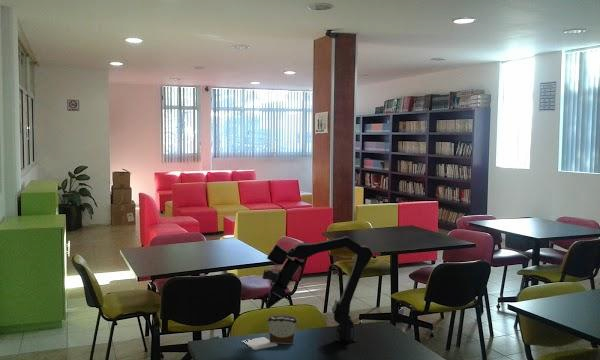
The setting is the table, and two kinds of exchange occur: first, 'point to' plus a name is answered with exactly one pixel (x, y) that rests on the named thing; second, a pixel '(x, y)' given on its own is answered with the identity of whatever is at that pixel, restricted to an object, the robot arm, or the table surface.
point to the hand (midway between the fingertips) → (267, 305)
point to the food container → (282, 328)
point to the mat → (259, 343)
